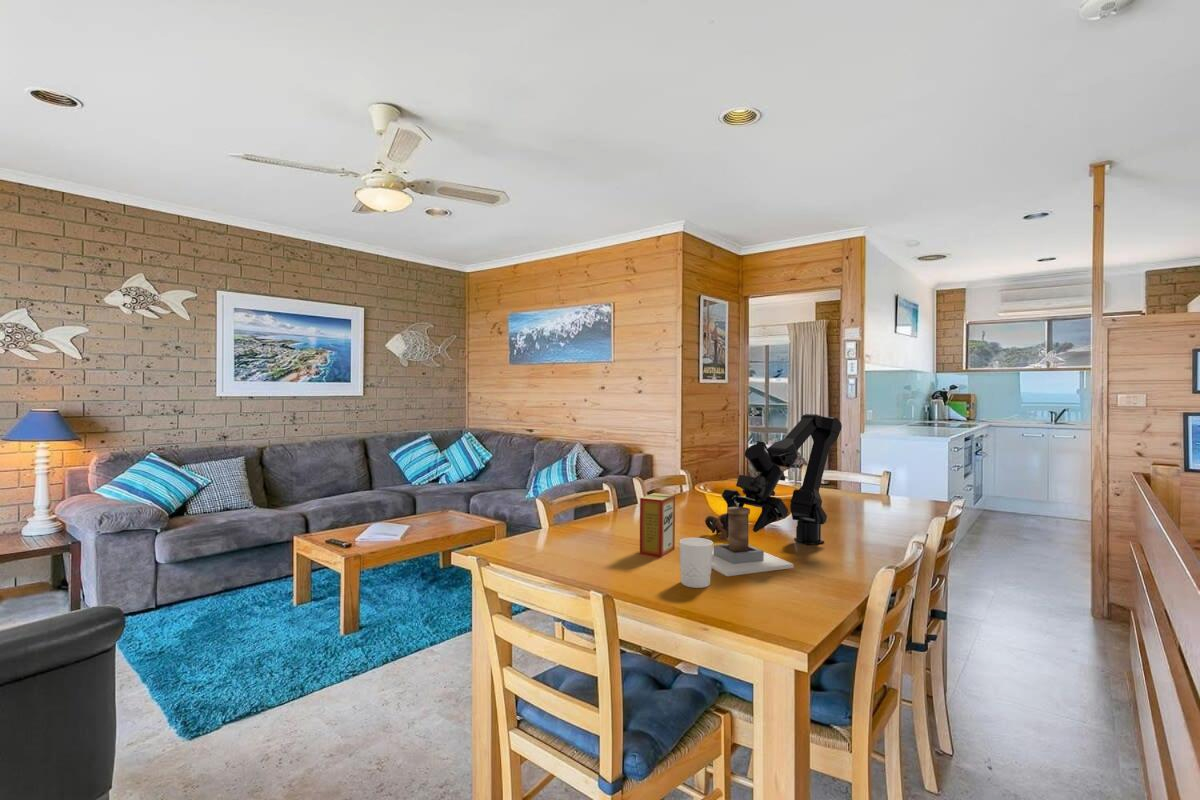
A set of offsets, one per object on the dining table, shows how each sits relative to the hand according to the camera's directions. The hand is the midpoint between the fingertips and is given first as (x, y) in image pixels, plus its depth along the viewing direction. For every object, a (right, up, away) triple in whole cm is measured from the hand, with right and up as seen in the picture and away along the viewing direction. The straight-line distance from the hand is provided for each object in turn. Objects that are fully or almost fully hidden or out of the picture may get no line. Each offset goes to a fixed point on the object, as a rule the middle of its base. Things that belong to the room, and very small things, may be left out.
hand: (739, 528), depth 161 cm
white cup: (-15, -9, -19) cm, 26 cm away
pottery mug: (+1, -9, +27) cm, 28 cm away
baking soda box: (-21, -9, +9) cm, 25 cm away
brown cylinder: (0, -8, 0) cm, 8 cm away
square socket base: (0, -9, 0) cm, 9 cm away
